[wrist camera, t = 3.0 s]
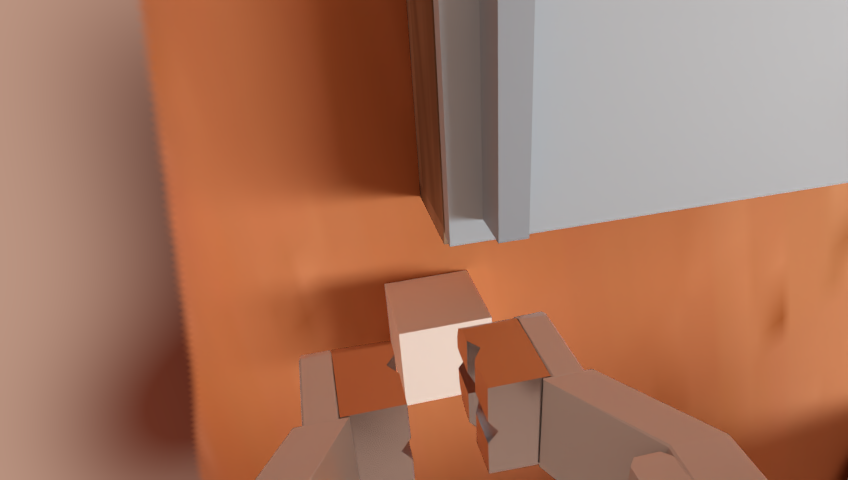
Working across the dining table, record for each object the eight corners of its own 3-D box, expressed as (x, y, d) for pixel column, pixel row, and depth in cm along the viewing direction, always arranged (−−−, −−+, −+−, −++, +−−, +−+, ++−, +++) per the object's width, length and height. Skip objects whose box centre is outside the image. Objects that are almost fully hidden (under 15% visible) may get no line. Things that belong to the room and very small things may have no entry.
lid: (445, 237, 26) (463, 271, 23) (430, -55, 20) (451, -49, 18) (862, 171, 29) (916, 195, 26) (946, -98, 23) (1023, -98, 21)
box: (420, 196, 30) (444, 244, 26) (400, -76, 25) (427, -72, 20) (780, 143, 33) (854, 178, 29) (839, -110, 28) (943, -113, 23)
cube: (466, 269, 33) (491, 317, 29) (468, 335, 35) (492, 388, 31) (384, 283, 32) (398, 334, 29) (391, 349, 35) (406, 405, 31)
